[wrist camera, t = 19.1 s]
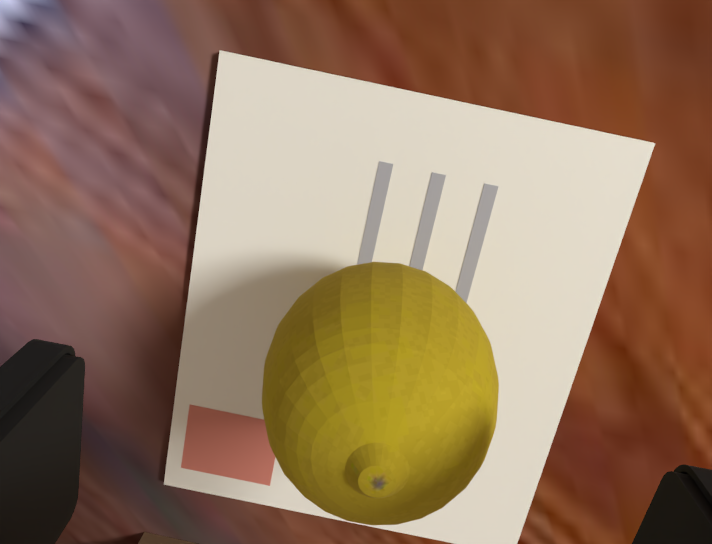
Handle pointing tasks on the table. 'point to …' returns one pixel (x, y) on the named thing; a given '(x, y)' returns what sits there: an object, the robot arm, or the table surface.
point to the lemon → (380, 394)
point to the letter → (392, 245)
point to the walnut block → (160, 539)
